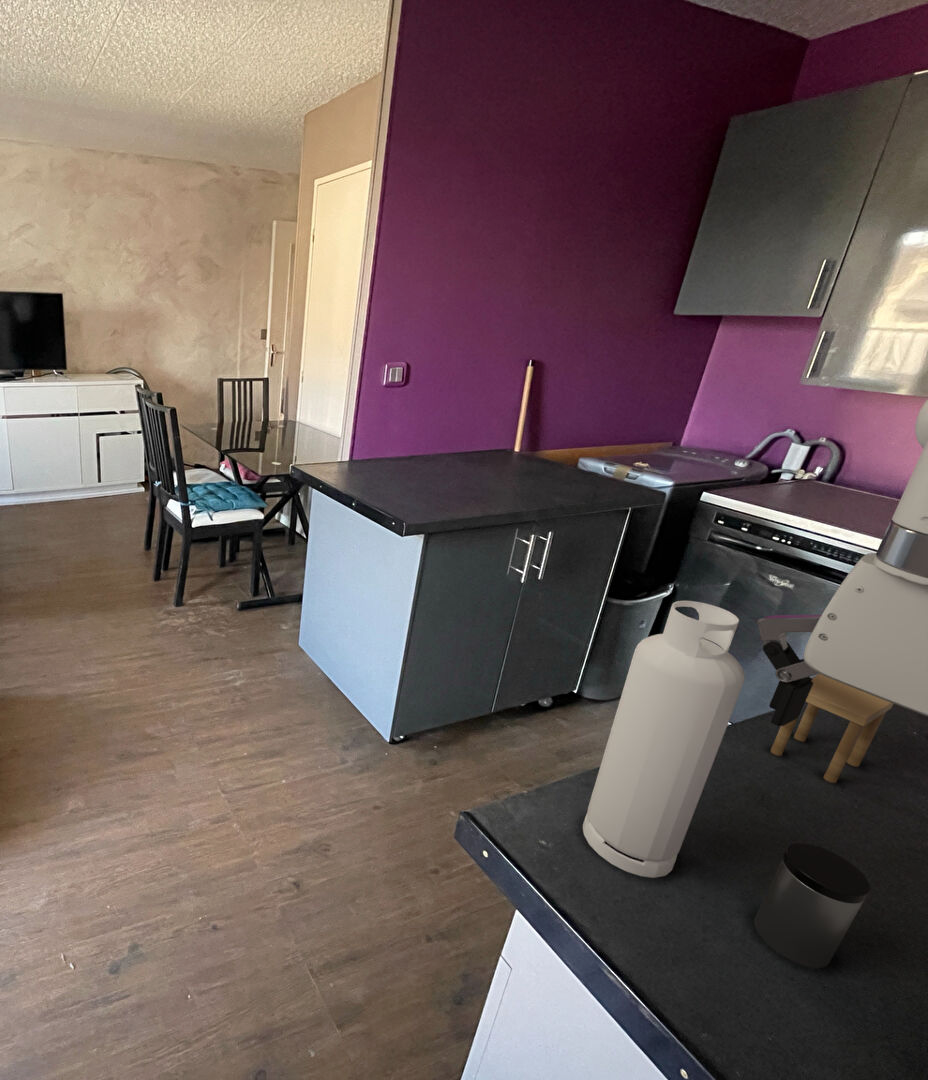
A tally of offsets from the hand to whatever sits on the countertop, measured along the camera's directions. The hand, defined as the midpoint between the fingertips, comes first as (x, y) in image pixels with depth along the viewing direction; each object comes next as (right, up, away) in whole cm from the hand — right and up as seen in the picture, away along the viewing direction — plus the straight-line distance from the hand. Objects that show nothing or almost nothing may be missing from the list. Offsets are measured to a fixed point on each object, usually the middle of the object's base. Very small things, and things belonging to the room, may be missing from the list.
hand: (860, 756), depth 46 cm
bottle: (-7, -16, +16) cm, 23 cm away
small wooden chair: (+25, -11, +28) cm, 39 cm away
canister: (+1, -19, +6) cm, 20 cm away
